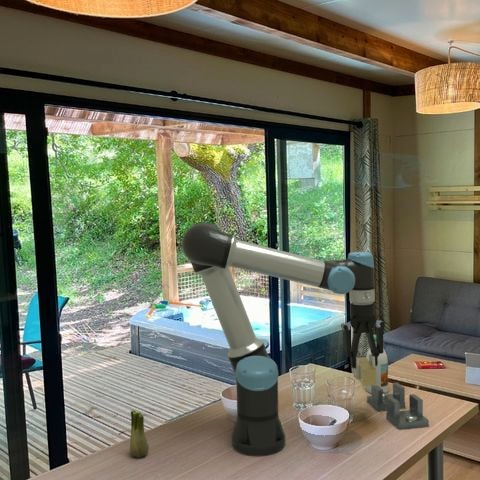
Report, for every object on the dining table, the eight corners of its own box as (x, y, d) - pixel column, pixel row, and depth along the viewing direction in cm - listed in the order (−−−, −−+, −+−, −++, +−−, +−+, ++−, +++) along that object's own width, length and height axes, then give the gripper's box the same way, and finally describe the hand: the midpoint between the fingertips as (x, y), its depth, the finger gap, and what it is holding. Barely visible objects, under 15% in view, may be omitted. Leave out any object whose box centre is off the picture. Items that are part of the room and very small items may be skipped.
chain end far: (393, 399, 174) (393, 379, 174) (405, 408, 166) (405, 387, 166) (367, 402, 173) (366, 381, 172) (377, 411, 165) (377, 390, 164)
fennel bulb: (130, 451, 142) (128, 408, 141) (147, 448, 143) (146, 406, 142) (130, 461, 136) (129, 417, 135) (149, 458, 137) (147, 414, 137)
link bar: (376, 385, 152) (375, 368, 152) (363, 386, 152) (362, 369, 152) (365, 372, 164) (365, 357, 164) (353, 373, 164) (353, 357, 164)
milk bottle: (373, 396, 178) (373, 339, 177) (361, 388, 185) (361, 334, 184) (392, 393, 180) (392, 337, 179) (379, 385, 188) (379, 332, 186)
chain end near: (398, 429, 151) (398, 406, 150) (386, 418, 159) (386, 396, 158) (428, 426, 153) (428, 403, 152) (414, 415, 161) (414, 394, 160)
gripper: (339, 307, 151) (342, 384, 153) (394, 302, 154) (396, 378, 156) (330, 302, 159) (333, 376, 160) (383, 298, 162) (385, 370, 163)
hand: (364, 377), depth 158 cm, fingers closed on link bar, 4 cm apart
